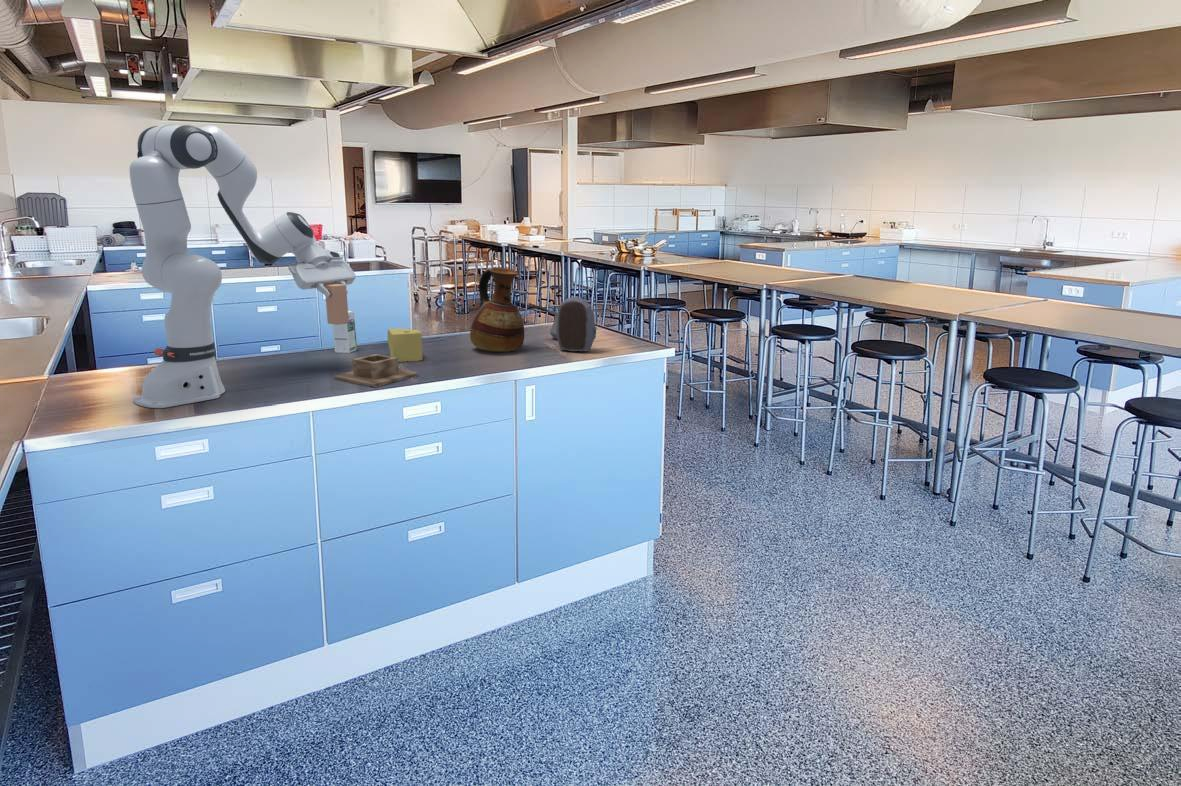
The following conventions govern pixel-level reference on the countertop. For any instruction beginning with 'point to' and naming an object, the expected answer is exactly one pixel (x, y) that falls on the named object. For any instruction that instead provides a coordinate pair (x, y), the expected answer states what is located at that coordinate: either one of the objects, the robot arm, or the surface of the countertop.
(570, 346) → the small grey backpack
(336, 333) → the syrup box
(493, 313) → the ceramic pitcher
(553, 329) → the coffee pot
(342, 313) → the rust peg
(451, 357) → the countertop surface
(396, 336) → the cheese
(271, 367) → the countertop surface
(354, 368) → the socket stand
